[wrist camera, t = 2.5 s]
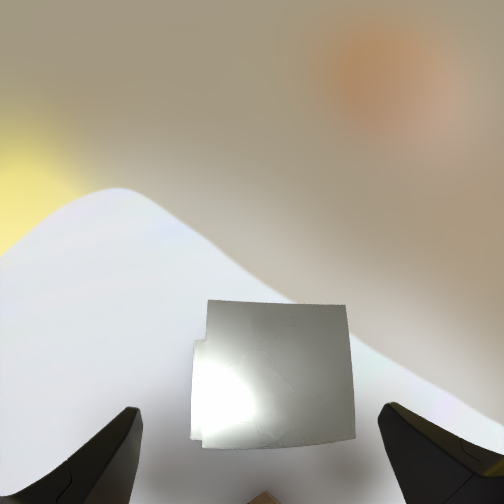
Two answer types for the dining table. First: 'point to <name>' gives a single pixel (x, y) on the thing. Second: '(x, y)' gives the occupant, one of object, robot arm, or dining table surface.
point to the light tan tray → (264, 499)
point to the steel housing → (272, 376)
